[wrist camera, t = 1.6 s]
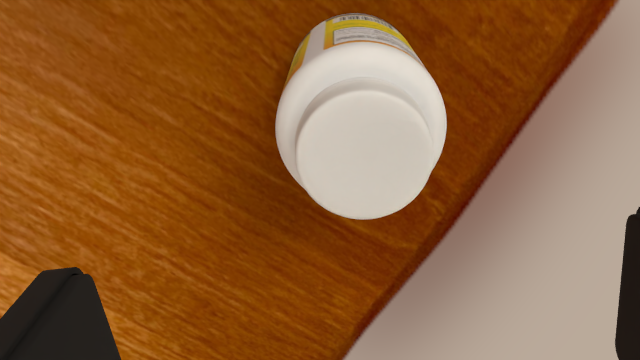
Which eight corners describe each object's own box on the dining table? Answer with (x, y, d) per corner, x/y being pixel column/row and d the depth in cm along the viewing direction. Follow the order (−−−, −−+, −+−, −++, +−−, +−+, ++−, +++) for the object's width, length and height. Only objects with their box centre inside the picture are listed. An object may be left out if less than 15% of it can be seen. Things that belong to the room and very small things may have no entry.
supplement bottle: (327, 152, 27) (322, 272, 17) (268, 48, 25) (227, 120, 15) (436, 99, 25) (493, 197, 16) (383, -14, 24) (413, 22, 14)
